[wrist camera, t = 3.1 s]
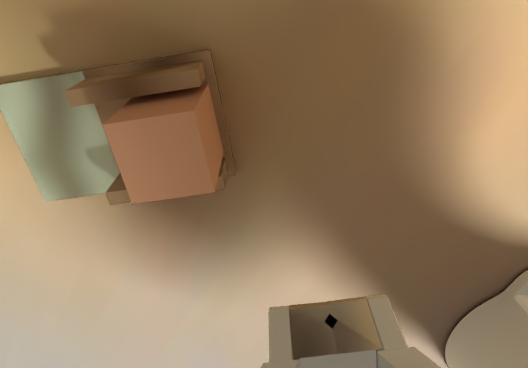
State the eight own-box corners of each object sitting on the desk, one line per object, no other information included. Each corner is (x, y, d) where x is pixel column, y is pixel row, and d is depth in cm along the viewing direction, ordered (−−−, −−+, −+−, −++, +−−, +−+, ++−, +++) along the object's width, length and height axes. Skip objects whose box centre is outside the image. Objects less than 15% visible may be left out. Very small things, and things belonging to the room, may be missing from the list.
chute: (210, 49, 25) (202, 59, 22) (236, 172, 29) (233, 194, 26) (-7, 85, 26) (-43, 99, 23) (48, 198, 30) (24, 223, 27)
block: (208, 83, 25) (194, 110, 20) (223, 152, 28) (214, 192, 22) (135, 94, 26) (102, 124, 21) (156, 161, 28) (131, 204, 23)
